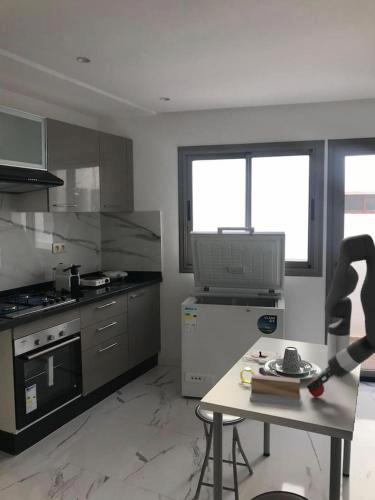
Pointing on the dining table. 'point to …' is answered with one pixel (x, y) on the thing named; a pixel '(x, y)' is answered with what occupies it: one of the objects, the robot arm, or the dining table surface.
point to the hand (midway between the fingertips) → (311, 385)
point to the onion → (317, 390)
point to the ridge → (275, 386)
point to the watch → (246, 370)
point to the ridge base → (274, 399)
